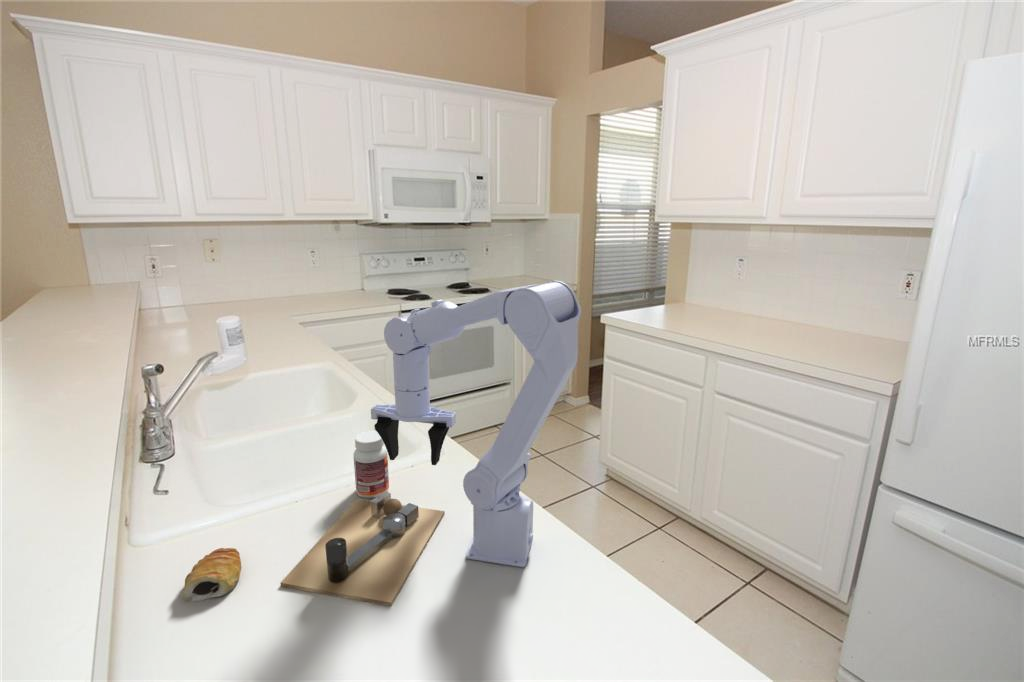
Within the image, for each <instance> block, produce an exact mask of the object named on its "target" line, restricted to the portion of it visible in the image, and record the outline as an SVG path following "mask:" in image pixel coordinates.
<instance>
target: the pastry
mask: <svg viewBox="0 0 1024 682" xmlns="http://www.w3.org/2000/svg"><path fill="white" fill-rule="evenodd" d="M241 572H242V560H241V557H240V552H239V551H238V549H236V548H232V547H231V548H229V547H228V548H223V547H219V548H217V549H215V550H213V551H211V552H210V553H208V554H206V555H204V556H203V558H201V559H199V560H198V561H197V563H196V564H194V565H193V566H192V569H191V571H190V572H189V573H188V574H187V575H186V577H185V579H184V588H183V590H182V593H181V597H182V598H183V599H184V600H187V601H188V602H200V601H205V600H208V599H211V598H218V597H223V596H224V595H226V594H227V593H229V592H231V591H233V589H234V588H235V587H237V585H238V583H239V581H240V578H241Z"/></svg>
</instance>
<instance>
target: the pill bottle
mask: <svg viewBox="0 0 1024 682" xmlns="http://www.w3.org/2000/svg"><path fill="white" fill-rule="evenodd" d="M354 446H355V450H354V452H353V465H354V466H353V468H354V478H355V481H354V482H355V491H356V494H357V495H358V496H359V497H362V498H365V499H374V498H376V497H377V496H378V495H380V494H381V493H383V492H384V491H386V492H389V489H390V478H389V474H390V473H389V463H388V461H389V460H388V457H389V456H388V452H387V449H386V446H385V444H384V442H383V440H382V438H381V437H380V435H379V434H378V432H377V431H376V430H367V431H363V432H360V433H358V434H357V435H355V437H354Z"/></svg>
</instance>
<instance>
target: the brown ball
mask: <svg viewBox="0 0 1024 682" xmlns="http://www.w3.org/2000/svg"><path fill="white" fill-rule="evenodd" d="M402 505H403V504H402V502H401V501H400V500H399V499H397V498H391V499H389V500H388V501H386V503H385V504H384V507H383V511H384V514H385V515H386V516H387V515H389V514H392V513H398V511H399V510H400V509H402Z"/></svg>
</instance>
